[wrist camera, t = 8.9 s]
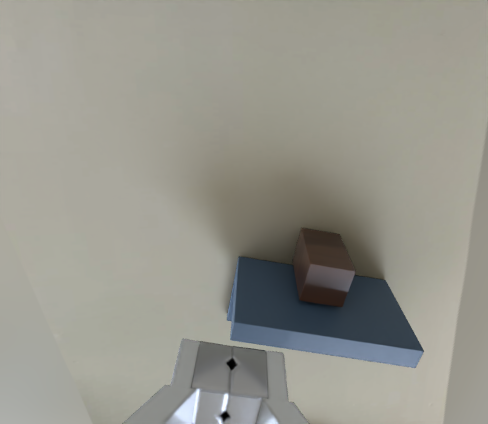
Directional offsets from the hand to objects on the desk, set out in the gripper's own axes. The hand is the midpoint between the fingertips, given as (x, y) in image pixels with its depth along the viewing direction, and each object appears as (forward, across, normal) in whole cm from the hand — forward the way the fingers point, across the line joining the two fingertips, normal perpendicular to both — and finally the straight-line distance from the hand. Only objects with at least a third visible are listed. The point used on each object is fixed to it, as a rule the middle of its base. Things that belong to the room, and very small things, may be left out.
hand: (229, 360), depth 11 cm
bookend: (+25, -9, +16) cm, 31 cm away
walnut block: (+22, -9, +10) cm, 25 cm away
